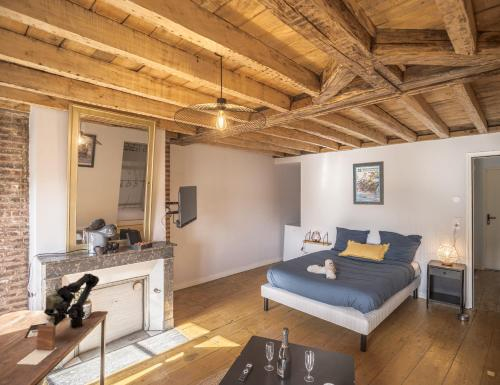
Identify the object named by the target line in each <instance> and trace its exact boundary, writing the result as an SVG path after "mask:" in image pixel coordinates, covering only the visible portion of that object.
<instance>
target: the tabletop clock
mask: <svg viewBox="0 0 500 385" xmlns="http://www.w3.org/2000/svg"><path fill="white" fill-rule="evenodd" d="M54 288H55V291H54V292H53V293H52V294H49V295H47V296H46V299H45V310H46V309H47V308H49V309H53V310H54V311H57V310H56V309H55V308H53V306H54V303H59V302H61V301H62V298H61V297H60V296H59V295H58V294H57V291H58V290H59V289H60V288H59V286H58V284H56V285H55V287H54ZM58 313H59V312H58ZM49 317H50V318H49V319H50V320H51V321H54V315H53V316H49Z"/></svg>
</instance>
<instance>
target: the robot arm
mask: <svg viewBox="0 0 500 385" xmlns="http://www.w3.org/2000/svg"><path fill="white" fill-rule="evenodd" d="M99 281H100V278H99V277H98V276H97V275H94V274H93V273H84V274H83V276H81V277H79V279H77V280H76V281H74V282H71V283H69V284H67V285H62V287H60V288H59V290H58V291H57V294H58V295H59V296H60V297H61V298H62V301H61V302H59V303H54V306H53V308H55V309H56V310H57V311H54V310H53V309H49V308H47V309H46V308H45V310H44V311H43V313H44V314H45V315H46V316H48V317H50V316H53V315H54V317H53V325H52V326H56V327H57V326H58V325H59V324H60V323H61V322H62V321H64V320H65V319H67V316H68V319H70V320H69V326H70V327H71V328H72V329H77V328H79V327H82V326H84V325H83V318H85V315H86V312H85V311H84V309H85V308H84V305H85V303H86V301H87V299H88V297H89V295H90V294H91V292H92V290H93V288H95V287H96V286H97V284H99ZM83 285H85V286H84V289H83V290H82V293H80V296H79V297H78V299H77V301H76V303H72V302H73V300H74V299H76V295H75V294H77V293H79V291H81V288H82V286H83ZM71 303H72V305H71ZM58 312H59V313H58Z"/></svg>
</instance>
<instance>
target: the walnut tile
mask: <svg viewBox="0 0 500 385" xmlns="http://www.w3.org/2000/svg"><path fill="white" fill-rule="evenodd" d="M56 328H57V326H53V325H51V324H50V325H48V324H46V325H39V326H38V334H37V336H36V337H37V339H36V349H37V350H54V349H55V348H56V331H57V330H56ZM55 350H56V349H55ZM55 350H54V351H55Z"/></svg>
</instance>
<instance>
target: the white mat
mask: <svg viewBox="0 0 500 385" xmlns="http://www.w3.org/2000/svg"><path fill="white" fill-rule="evenodd" d="M56 349H57V347H55V349H54V350H37V348H36V349H34V350H33V351H32V352H30V353H29V354H28V355H26V356H25V357H24V358H23V357H22V359H21V360H20V361H18V362H17V363H16V365H34V366H35V365H38V364H39V363H41V362H42V361H43V360H44V359H45V358H46V357H48V356H49V355H50V354H52V352H54V351H55V350H56Z"/></svg>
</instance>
